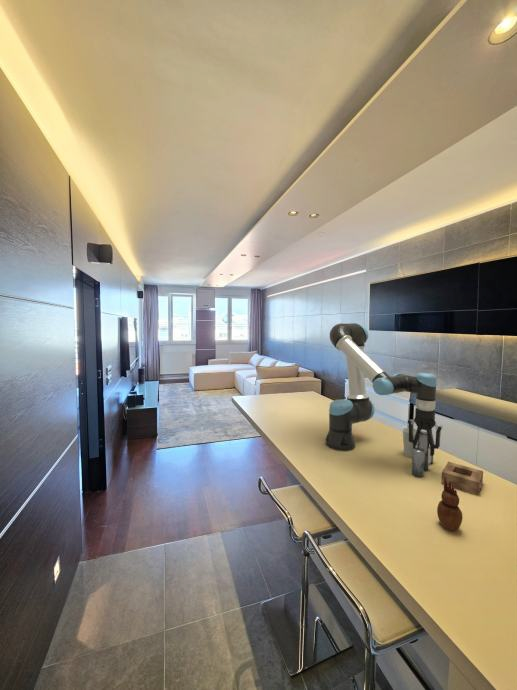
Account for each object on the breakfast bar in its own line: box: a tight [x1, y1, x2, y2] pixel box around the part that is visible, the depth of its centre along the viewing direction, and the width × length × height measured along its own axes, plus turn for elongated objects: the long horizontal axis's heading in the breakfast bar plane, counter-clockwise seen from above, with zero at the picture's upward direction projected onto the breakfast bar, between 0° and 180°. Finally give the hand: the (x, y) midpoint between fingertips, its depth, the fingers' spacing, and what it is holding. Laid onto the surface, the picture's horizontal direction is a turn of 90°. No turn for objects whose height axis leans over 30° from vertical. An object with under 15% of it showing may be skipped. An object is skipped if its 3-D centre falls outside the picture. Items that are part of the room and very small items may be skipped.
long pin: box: [418, 430, 430, 472], centre depth 130 cm, size 4×4×16 cm
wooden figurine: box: [436, 478, 463, 531], centre depth 93 cm, size 7×6×15 cm
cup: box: [402, 427, 418, 458], centre depth 144 cm, size 8×8×12 cm
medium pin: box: [411, 448, 425, 479], centre depth 125 cm, size 4×4×11 cm
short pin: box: [429, 445, 434, 465], centre depth 137 cm, size 4×4×7 cm
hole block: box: [441, 461, 484, 496], centre depth 118 cm, size 12×12×5 cm
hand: (423, 460), depth 131 cm, fingers closed on long pin, 4 cm apart
